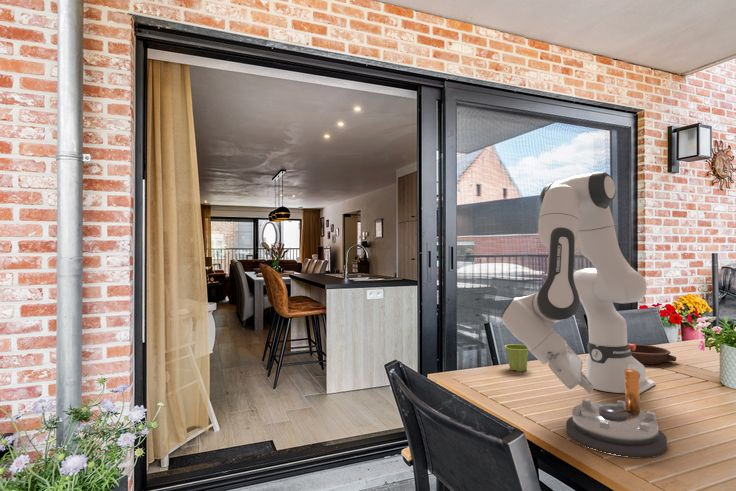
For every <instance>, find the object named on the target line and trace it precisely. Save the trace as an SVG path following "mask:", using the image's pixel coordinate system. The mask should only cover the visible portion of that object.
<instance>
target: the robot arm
mask: <svg viewBox="0 0 736 491" xmlns="http://www.w3.org/2000/svg"><path fill="white" fill-rule="evenodd" d="M616 190H617V189H616V184H615V180H614V178H613V177H612V176H611V175H610V174H609V173H608V172H605V171H603V172H602V171H593V172H592V173H586V174H578V175H573V176H571V177H568V178H565V179H562V180H558V181H552V182H551V183H548V184H546V185H545V186H543V188H542V189H541V192H540V197H539V199H540V205H541V206H540V211H539V216H538V223H537V224H538V225H537V233H538V240H539V242H540V243H541V244H542V245H543V246H544V247H546V248H547V249H548V250H547V251H548V260H547V262H548V263H547V272H546V274H547V275H546V280H545V281H544V283H543V285H542V286H541V288H540V289H539V290H538V291H537V292H534V293H532V294H528V295H524V296H519V297H513V298H512V299H510V301H509V302H508V303H507V305H506V306H505V307H504V309H503V310H502V312H501V314H500V316H501V318H500V319H501V321H502V323H503V324H504V326H505V328H507V330H508V331H509V332H510V333H511V334H512V335H513V336H514V337H515V338H516V340H518V341H520V342H521V343H523V345H526V346H527V348H528V350H529V353H531V354H532V355H533V356H534V357H535V358H536V359H537V361H539V362H540V363H541V364H542V365H545V364H548V365H547V366H548V367H549V369H550V371H551V372H552V374H554V375H555V377H557V378H558V380H559V381H560V382H561V383H562V384H563V385H564V386H565V387H566V388H568V389H570V390H572V389H574V388H575V387H576V386H577V385H578V386H580V387H581V388H583V389H584V390H585V391H586V392H587V393H591V392H593V391H594V390H598V391H602V392H607V393H617V394H625V374H624V370H625V369H632V370H637V371H638V373H639V395H640V394H641V393H643V392H645V391H647V390H648V389H650V388H652V387H654V386H655V385H656V382H655V381H654V380H652V379H650V378H647V373H646V368H645V365H644V364H641V363H640V362H638V361H637V360H636V359H635V358H634V357H633V356H631V355H632V354H631V350H633V351H634V350H636V347H635V344H634V343H628V328H627V326H628V325H627V320H626V319H625V318H624V317H623V316H622V315H621V314H620V312H618V311H617V309H616V307H615V305H614V303H616V304H630V303H631V304H632V303H638V302H640V301H641V300H642V299H643V298H644V297H645V295H646V293H647V281H646V279H645V277H644V276H643V275H642V274H641V273H640V272H639V271H636V270H635V268H633V267H632V266H631V265H630V264H629V262H628V261H627V259H626V258H625V257H624V255H623V253H622V250H621V248H620V246H619V241H618V236H617V232H616V229H615V222H614V218H613V213H612V212H611V208H610V206H609V205H610V204H612V202H613V201H614V198H615V197H616ZM577 239H578V246H579V250H580V253H581V255H582V256H583V257H585V258H586V259H588V260H589V261H590V262H591V264H592V265H593V267H586V268H581V269H578V270H576V271H574V270H575V248H576V243H577ZM580 303H581V306H582V307H583V309H584V311H585V315H586V319H587V328H588V330H587V331H588V342H587V353H588V355H587V356H586V360H585V373H584V372H583V361H582V359H581V358H580V356H578V354H577V353H576V352H575V351H574V350H573V349H572V347H570V346H569V345H568V344H567V343H568V342H567V341H566V339H565V338H564V337H563V336H562V335H560V334H559V333H558V332H557V331H556V330H554V329H553V327H552V326H553V324H555V323H558V322H561V321H562V320H567V319H570V318H572V316H574V315H575V314H576V313H577V312H578V310H579V307H580Z"/></svg>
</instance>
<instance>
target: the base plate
mask: <svg viewBox="0 0 736 491" xmlns="http://www.w3.org/2000/svg"><path fill="white" fill-rule="evenodd" d="M565 424H566V428H565V429H566V433H568V434H567V435H568V437H569V436H570V437H571V438H572V439H573V440H572V439H571V440H572V441H574V440H575V441H576V442H575V441H574V442H575V443H577V442H578V443H580V444H582V445H584V446H586V447H589V448H593V449H596V450H598V451H602V452H606V453H611V454H616V455H621V456H628V457H651V458H654V457H653V456H656V457H659V456H662V455H663V454H665V453H666V451H667V450H668V449H667V448H668V439H667V436H666V435H665V434H664V432H663V431H662V430H660V429H659V428H658V432H659V438H658V440H657V441H655V442H653V443H651V444H646V445H621V444H614V443H609V442H605V441H601V440H598V439H595V438H592V437H589V436H587V435H585V434H583V433H581V432H580V431H578V430H577V429H576V428H575V427H574V425H573V415H572V416H570V417H568V418H567V419H566V423H565ZM570 437H569V438H570ZM578 443H577V444H578ZM580 444H579V445H580ZM582 445H581V446H582ZM584 446H583V447H584ZM586 447H585V448H586ZM589 448H588V449H589ZM658 455H659V456H658Z"/></svg>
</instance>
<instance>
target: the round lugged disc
mask: <svg viewBox="0 0 736 491" xmlns="http://www.w3.org/2000/svg"><path fill="white" fill-rule="evenodd" d="M624 374H625V393H624V396H625V400H621V399H620V400H619V399H618V400H617V401H616V403H610V402H609V403H608V402H592V401H591V399H589V398H583V399H582V400H581V402H582V403H581V404H577V405H575V406H574V407H573V408H572V409H571V410H572V411H571V412H572V416H573V425H574V427H575V428H576V429H577V430H578V431H580V432H581V433H583V434H585V435H587V436H589V437H592V438H595V439H598V440H601V441H605V442H609V443H614V444H621V445H646V444H651V443H653V442H655V441H657V440H658V438H659V432H658V429H659V422H658V420H657V419H656V412H653V411H649V410H647V411H646V412H645V411H643V410H641V404H640V403H641V402H640V401H641V400H640V394H639V373H638V371H637V370H632V369H625V370H624Z"/></svg>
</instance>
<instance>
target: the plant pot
mask: <svg viewBox="0 0 736 491" xmlns="http://www.w3.org/2000/svg"><path fill="white" fill-rule="evenodd" d="M504 348H505V351H506V355H507V360H508V365H509V370H511V371H516V372H525V371H527V369H528V361H529V359H528V358H529V353H530V351H529V350H528V348H527V346H526V345H525V344H520V343H518V344H516V343H515V344H513V343H512V344H511V343H510V344H505V345H504Z"/></svg>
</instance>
